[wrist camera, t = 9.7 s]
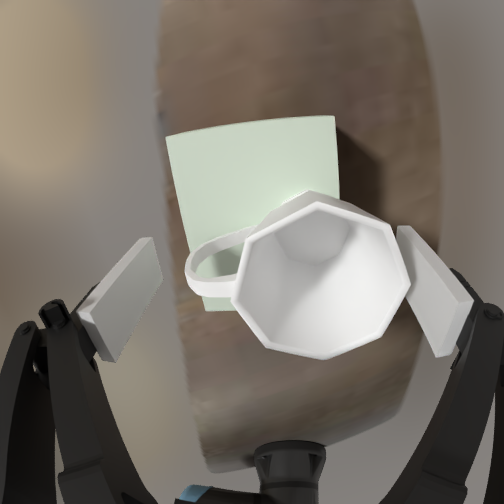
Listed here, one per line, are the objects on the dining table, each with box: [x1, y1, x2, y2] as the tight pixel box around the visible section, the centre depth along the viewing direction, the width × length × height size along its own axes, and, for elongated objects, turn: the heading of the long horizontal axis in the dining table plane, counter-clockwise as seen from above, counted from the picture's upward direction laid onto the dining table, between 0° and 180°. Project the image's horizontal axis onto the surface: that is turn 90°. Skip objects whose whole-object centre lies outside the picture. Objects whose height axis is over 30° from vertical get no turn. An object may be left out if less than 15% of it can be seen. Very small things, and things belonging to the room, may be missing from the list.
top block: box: [166, 115, 340, 311], centre depth 20 cm, size 13×10×4 cm
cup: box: [185, 189, 411, 360], centre depth 14 cm, size 7×10×8 cm
